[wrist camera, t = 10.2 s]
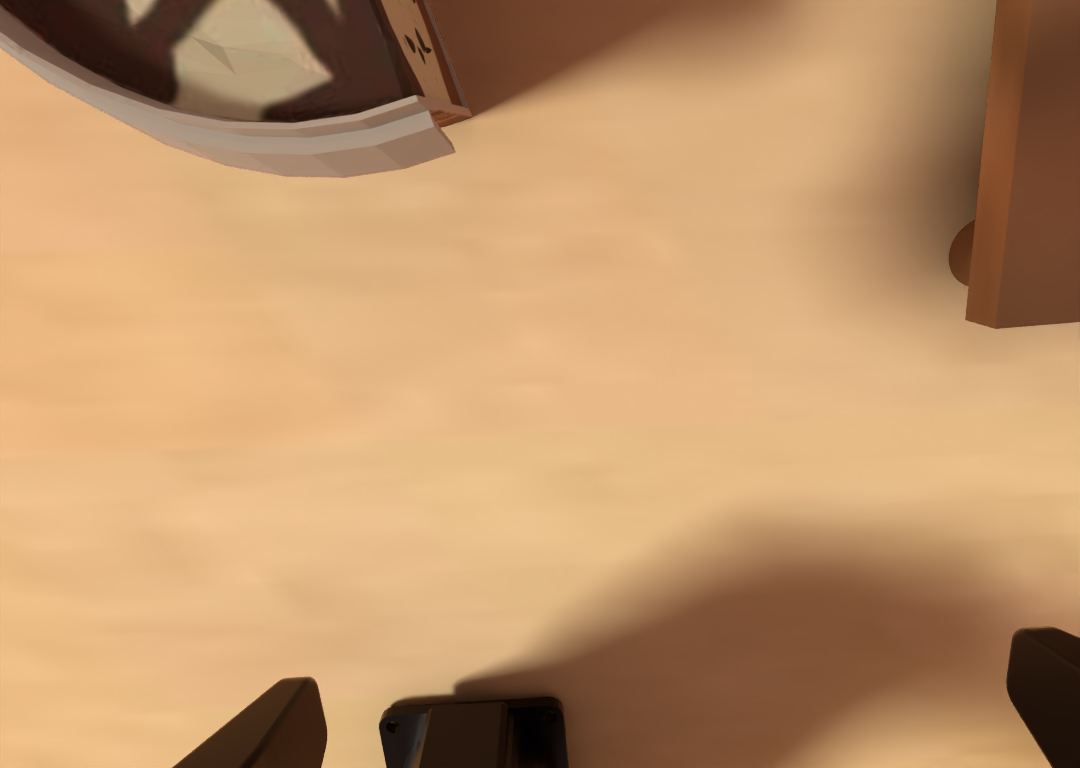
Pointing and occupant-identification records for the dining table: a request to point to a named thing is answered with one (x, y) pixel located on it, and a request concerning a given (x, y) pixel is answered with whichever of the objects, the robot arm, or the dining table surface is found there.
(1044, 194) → the stand
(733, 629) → the dining table surface
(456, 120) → the food container
